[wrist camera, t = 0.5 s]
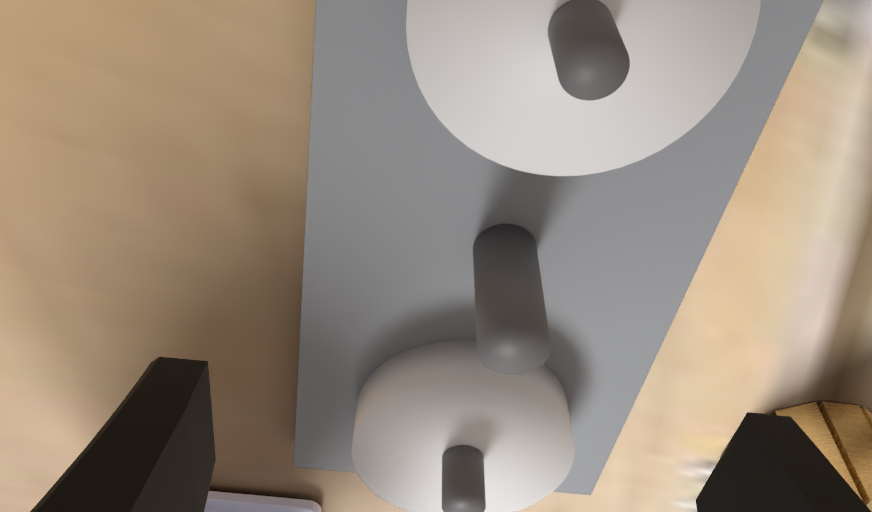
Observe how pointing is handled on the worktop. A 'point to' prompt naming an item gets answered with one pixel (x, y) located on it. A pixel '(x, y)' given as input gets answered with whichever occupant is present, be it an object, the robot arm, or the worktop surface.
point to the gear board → (512, 227)
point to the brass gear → (840, 440)
